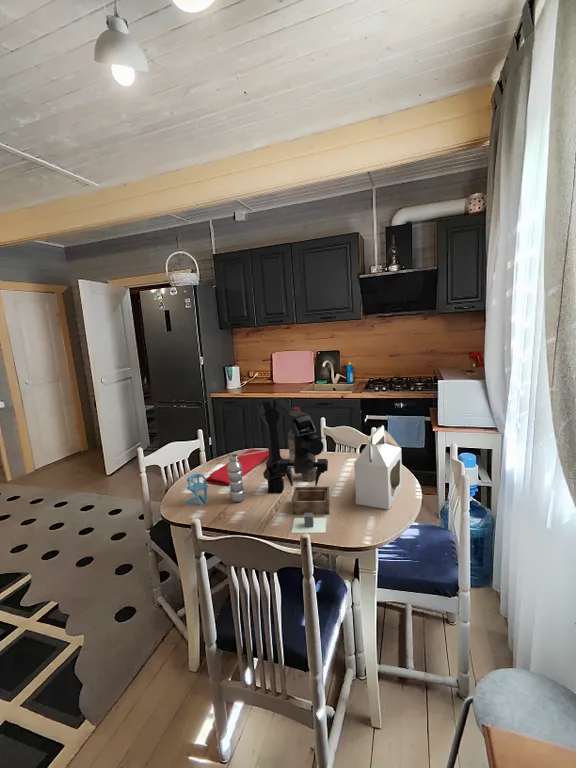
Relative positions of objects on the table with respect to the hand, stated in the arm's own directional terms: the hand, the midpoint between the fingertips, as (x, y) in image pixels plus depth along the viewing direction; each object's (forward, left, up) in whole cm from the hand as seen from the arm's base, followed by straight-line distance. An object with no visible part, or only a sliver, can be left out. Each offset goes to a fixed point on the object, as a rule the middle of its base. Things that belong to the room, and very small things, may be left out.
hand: (304, 485), depth 145 cm
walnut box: (+2, +5, -11) cm, 12 cm away
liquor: (-7, +50, -12) cm, 52 cm away
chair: (-47, +10, -12) cm, 49 cm away
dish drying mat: (-38, +47, -12) cm, 61 cm away
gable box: (+30, +15, -12) cm, 35 cm away
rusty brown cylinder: (-1, +32, -12) cm, 34 cm away
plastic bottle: (-30, +11, -12) cm, 34 cm away
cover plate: (+2, -9, -12) cm, 15 cm away
